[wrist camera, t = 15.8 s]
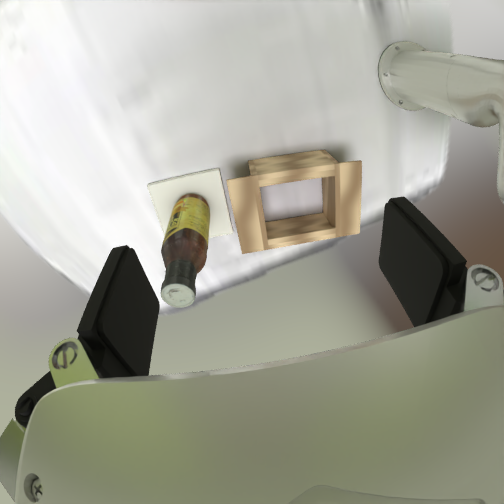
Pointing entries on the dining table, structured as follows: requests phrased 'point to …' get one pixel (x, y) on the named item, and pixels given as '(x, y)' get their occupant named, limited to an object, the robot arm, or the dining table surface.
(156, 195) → the mat
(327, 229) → the carton
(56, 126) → the dining table surface
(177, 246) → the sauce bottle
